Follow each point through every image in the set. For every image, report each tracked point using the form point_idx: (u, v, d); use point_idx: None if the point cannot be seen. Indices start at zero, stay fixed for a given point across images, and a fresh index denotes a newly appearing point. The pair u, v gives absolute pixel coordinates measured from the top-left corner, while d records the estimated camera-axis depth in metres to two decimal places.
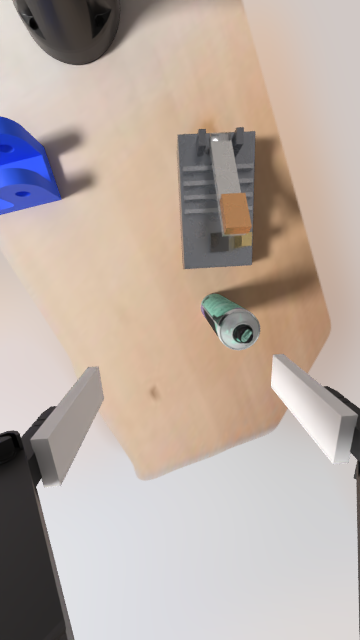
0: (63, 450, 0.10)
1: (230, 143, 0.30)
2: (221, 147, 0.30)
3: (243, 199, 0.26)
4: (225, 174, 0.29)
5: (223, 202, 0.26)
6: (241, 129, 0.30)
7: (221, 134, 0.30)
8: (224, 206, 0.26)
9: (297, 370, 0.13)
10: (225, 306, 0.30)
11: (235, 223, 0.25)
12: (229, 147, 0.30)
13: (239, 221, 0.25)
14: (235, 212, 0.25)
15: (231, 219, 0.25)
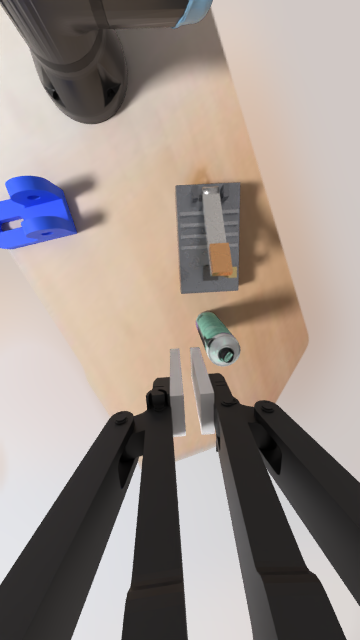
0: None
1: (218, 196, 0.37)
2: (211, 199, 0.36)
3: (227, 248, 0.33)
4: (213, 224, 0.35)
5: (211, 251, 0.33)
6: (227, 184, 0.36)
7: (211, 188, 0.37)
8: (212, 254, 0.32)
9: (198, 360, 0.15)
10: (214, 329, 0.37)
11: (220, 269, 0.32)
12: (218, 200, 0.36)
13: (223, 267, 0.32)
14: (220, 259, 0.32)
15: (217, 265, 0.32)
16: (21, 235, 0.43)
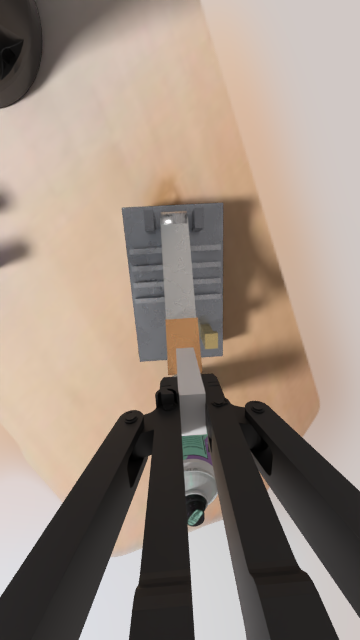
0: None
1: (186, 228, 0.23)
2: (174, 234, 0.23)
3: (194, 328, 0.19)
4: (176, 277, 0.22)
5: (167, 333, 0.19)
6: (200, 209, 0.22)
7: (174, 216, 0.23)
8: (168, 340, 0.19)
9: (192, 360, 0.15)
10: None
11: None
12: (185, 235, 0.23)
13: None
14: None
15: (176, 361, 0.19)
16: None
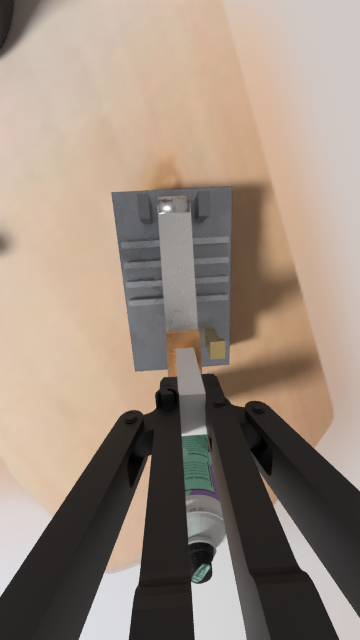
0: None
1: (188, 219, 0.19)
2: (174, 228, 0.19)
3: (195, 342, 0.19)
4: (176, 282, 0.19)
5: (167, 347, 0.18)
6: (205, 193, 0.18)
7: (174, 203, 0.19)
8: (168, 355, 0.18)
9: (192, 360, 0.15)
10: None
11: None
12: (187, 228, 0.19)
13: None
14: None
15: (176, 376, 0.19)
16: None
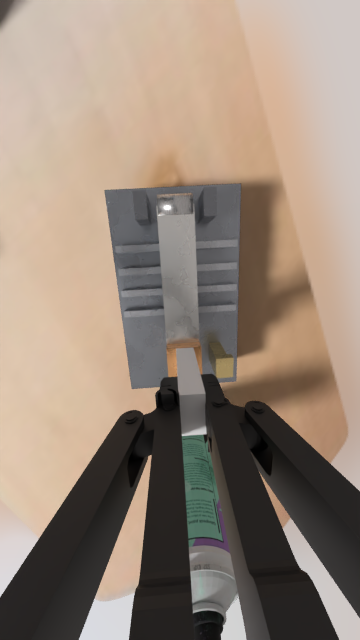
0: None
1: (192, 222, 0.17)
2: (175, 232, 0.17)
3: (197, 357, 0.18)
4: (177, 293, 0.18)
5: (168, 362, 0.18)
6: (212, 190, 0.16)
7: (176, 204, 0.16)
8: (169, 369, 0.18)
9: (192, 360, 0.15)
10: None
11: None
12: (190, 233, 0.17)
13: None
14: None
15: None
16: None
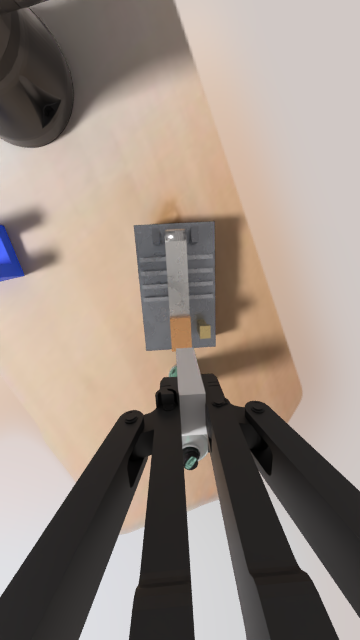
0: None
1: (185, 245, 0.30)
2: (175, 251, 0.30)
3: (188, 324, 0.31)
4: (176, 286, 0.31)
5: (171, 327, 0.31)
6: (195, 227, 0.29)
7: (176, 235, 0.29)
8: (171, 331, 0.31)
9: (192, 360, 0.15)
10: None
11: (179, 347, 0.31)
12: (183, 251, 0.30)
13: (182, 345, 0.31)
14: (179, 337, 0.31)
15: (176, 343, 0.31)
16: None
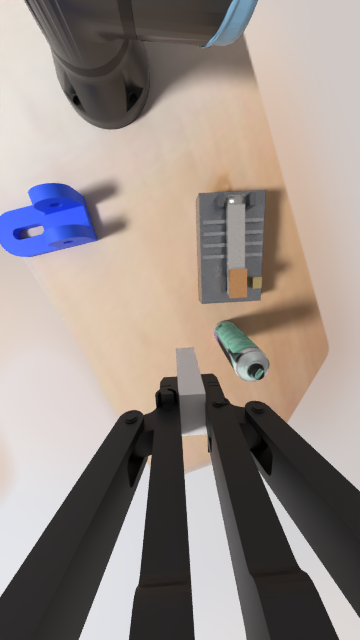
0: None
1: (243, 208, 0.36)
2: (235, 213, 0.36)
3: (244, 274, 0.37)
4: (235, 243, 0.37)
5: (230, 277, 0.37)
6: (254, 193, 0.35)
7: (237, 199, 0.35)
8: (231, 280, 0.37)
9: (192, 360, 0.15)
10: (239, 343, 0.36)
11: (236, 294, 0.38)
12: (242, 213, 0.36)
13: (239, 293, 0.38)
14: (237, 286, 0.37)
15: (234, 291, 0.38)
16: (40, 243, 0.41)
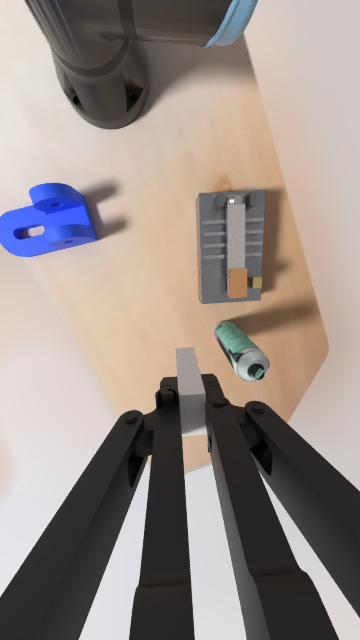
0: None
1: (243, 208, 0.36)
2: (235, 213, 0.36)
3: (245, 274, 0.37)
4: (235, 243, 0.37)
5: (230, 277, 0.37)
6: (254, 193, 0.35)
7: (237, 199, 0.35)
8: (231, 280, 0.37)
9: (192, 360, 0.15)
10: (239, 343, 0.36)
11: (236, 294, 0.38)
12: (242, 213, 0.36)
13: (239, 293, 0.38)
14: (237, 286, 0.37)
15: (234, 291, 0.38)
16: (41, 243, 0.41)
